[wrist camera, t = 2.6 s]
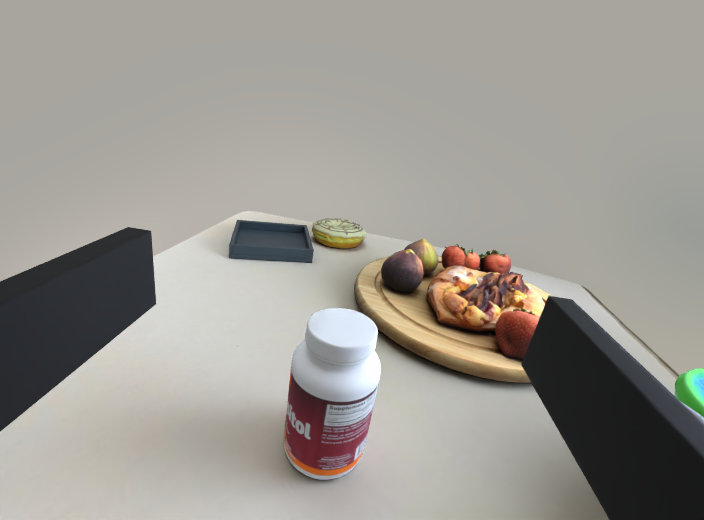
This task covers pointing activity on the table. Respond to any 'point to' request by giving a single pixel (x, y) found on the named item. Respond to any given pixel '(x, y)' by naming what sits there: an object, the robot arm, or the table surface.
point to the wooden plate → (454, 308)
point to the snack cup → (691, 390)
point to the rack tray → (271, 242)
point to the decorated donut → (338, 233)
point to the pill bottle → (331, 393)
